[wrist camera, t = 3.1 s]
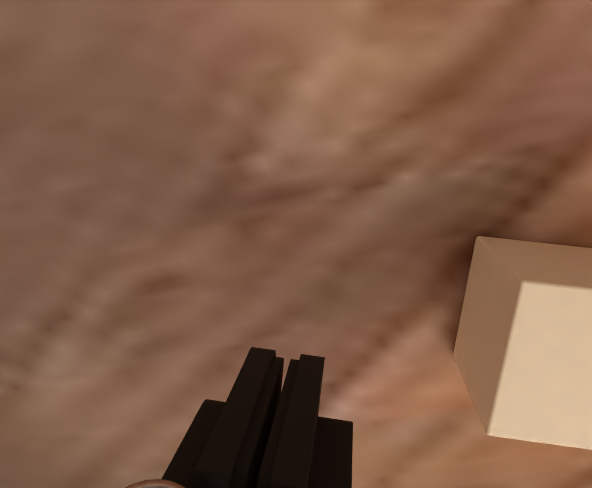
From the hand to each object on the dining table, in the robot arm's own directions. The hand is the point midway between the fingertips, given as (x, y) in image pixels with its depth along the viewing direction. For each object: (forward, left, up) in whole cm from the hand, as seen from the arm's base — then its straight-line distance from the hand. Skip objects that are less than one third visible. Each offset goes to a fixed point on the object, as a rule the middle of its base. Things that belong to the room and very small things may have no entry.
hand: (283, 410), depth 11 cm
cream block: (+8, 0, -9) cm, 12 cm away
